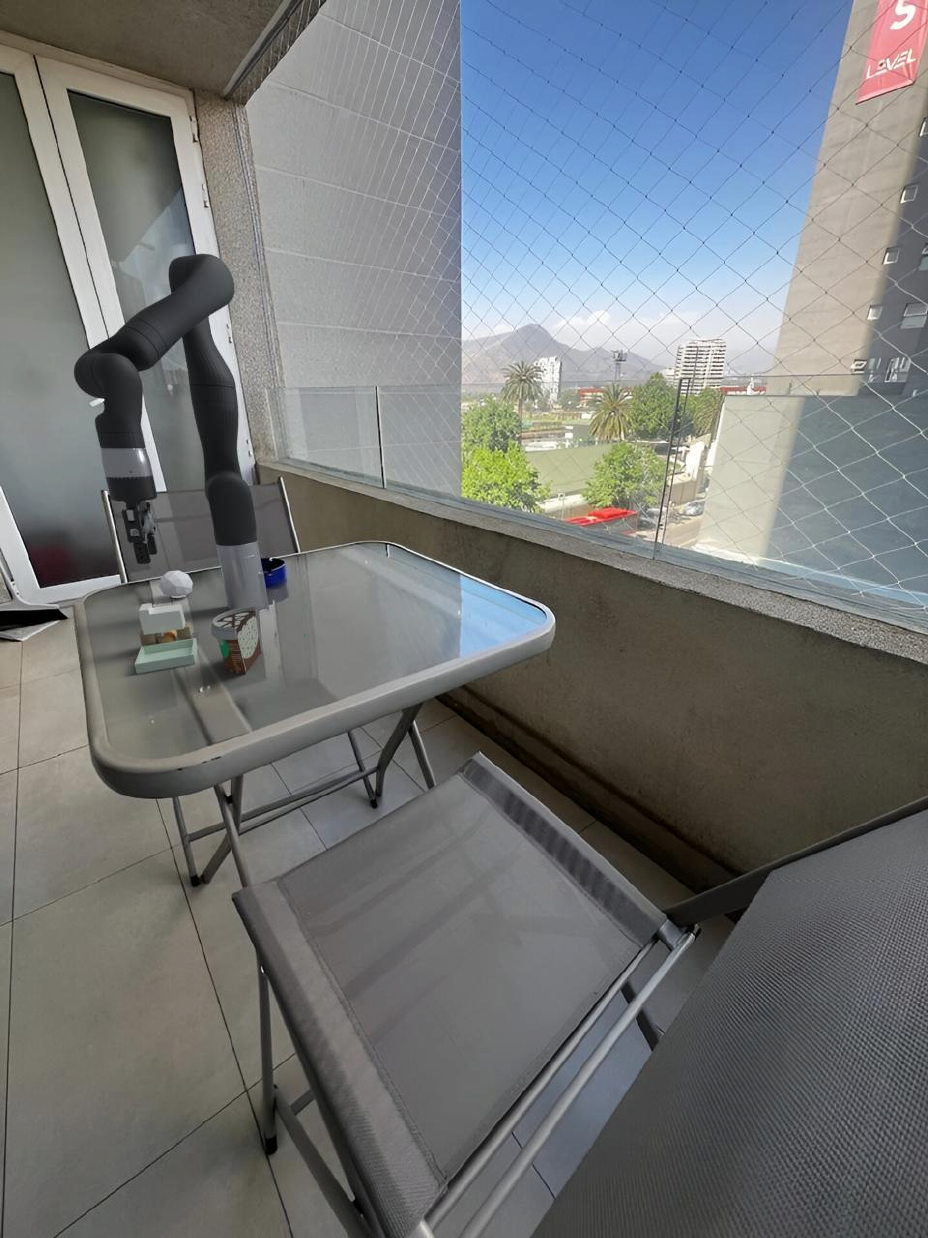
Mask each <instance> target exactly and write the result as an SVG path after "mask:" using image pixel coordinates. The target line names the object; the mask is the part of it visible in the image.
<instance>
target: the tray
mask: <svg viewBox="0 0 928 1238" xmlns="http://www.w3.org/2000/svg"><path fill="white" fill-rule="evenodd" d="M197 648H198V649H199V645H198V646H197V641H196V638H194V639H188V640H181V641H175V642H169V643H163V644H156V645H150V646H144V647H143V646H141V647H140V650H139V652H138V655H137V657H136V660H135V662H134V668H135V671H136V675H140V674H139V673H142V674H146V673H145V672H147V673H152V672H151V671H153V672H157V671H156V670H159V671H163V670H162V669H164V670H168V669H167V668H170V669H174V668H173V667H176V668H180V667H179V666H181V667H185V666H184V665H187V666H191V665H190V664H193V665H196V663H197V657H196V656H198V649H197Z"/></svg>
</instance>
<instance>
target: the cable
mask: <svg viewBox="0 0 928 1238" xmlns="http://www.w3.org/2000/svg"><path fill="white" fill-rule="evenodd" d="M176 636H177V632H176V630H173V631H166V632H163V634H162V637H163V638H162V637H161V638H162V641H161V644H163V643H169V642H175V640H176Z"/></svg>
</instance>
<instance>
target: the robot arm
mask: <svg viewBox="0 0 928 1238" xmlns="http://www.w3.org/2000/svg"><path fill="white" fill-rule="evenodd" d="M168 284H169V288H170V292H171V293H170V294H168V295H167V296H165V297H163V298H161V299H159V300H157V301H156V302H153V303H152V304H150V305H148V306H146V307H144V308H143V309H141V310H140V311H138V312H137V313H136V314H135V315H133V316H132V317H131V318H129V320H127V321H126V322H125V323H124V324H123V325H122V326H121V327H120V328H119V329H118V330H117V332H116V333H114V334H113V335H112V336H110V337H108V338H107V339H104V340H103V341H101V342H100V343H98V344H96V345H94V346H93V347H92V348H90V349H88V350H87V351H85V352H84V353H83V354H82V355H81V356H79V357H78V358H77V361H76V362H75V364H74V366H73V367H74V368H73V377H74V380H75V382H76V384H77V386H78V387H79V388H80V390H82V391H83V392H84V393H85V394H87V395H88V396H90V397H93V398H96V399H101V400H103V407H104V408H103V411H102V413H100V414H97V416H95V419H94V425H95V427H94V428H95V430H96V434H97V439H98V443H99V447H100V453H101V463H102V467H103V471H104V476H105V479H106V484H107V488H108V492H109V493H108V494H109V496H110V497H109V498H110V499H111V500H112V501H114V502H124V503H125V509H121V515H122V519H123V524H124V529H125V533H126V537H127V538H126V540H127V542H128V543H129V544H131V545H132V546H133V547H132V548H133V551H134V556H135V560H136V563H137V564H138V565H146V564H150V563H151V561H152V559H151V556H153V555H154V556H155V555H157V554H158V548H157V544H156V539H155V534H156V530H157V528H156V526H155V525H156V524H155V521H154V520H155V519H154V516H153V511H152V504H151V502H150V501H152V500H155V499H157V498H158V491H157V487H156V483H155V477H154V473H153V469H152V463H151V460H150V457H149V456H150V455H148V451H147V446H146V442H145V437H144V434H143V433H144V432H143V428H142V419H143V418H142V417H143V403H144V402H143V400H144V399H143V397H144V396H143V395H144V391H143V390H144V389H143V382H142V378H141V376H140V373H141V372H145V371H147V370H149V369H151V368H153V367H154V366H155V365H157V363H158V362H159V361H160V360H162V358H163V357H164V356H165V355H166V354H167V353H168V352H169V350H171V349H172V347H174V346H175V345H176V344H177V342H179V341H180V340H182V345H183V351H184V358H185V362H186V368H187V376H188V377H187V378H188V385H189V392H190V398H191V404H192V409H193V414H194V420H195V424H196V428H197V433H198V435H199V440H200V444H201V447H202V453H203V454H202V455H203V457H202V458H203V469H204V470H203V471H204V474H203V475H204V495H205V498H206V500H207V501H208V505H209V511H210V515H211V520H212V526H213V536H214V542H215V546H216V547H215V548H216V550H217V551H216V552H217V556H218V561H219V566H220V571H221V575H222V581H223V586H224V590H225V595H226V601H227V607H228V611H231V610H235V609H239V608H245V607H256V609H257V612H258V611H259V612H260V611H262V610H264V609H266V610H270V606H269V605H270V604H269V599H268V594H267V588H266V582H265V575H264V571H263V566H262V560H261V555H260V547H259V542H258V536H257V535H258V534H257V531H258V530H257V529H258V527H257V521H256V515H255V514H256V513H255V506H254V502H253V501H254V499H253V494H252V491H251V488H250V486H249V484H248V483H247V482H246V481H245V480H244V478H243V475H242V472H241V467H240V461H239V455H238V438H239V437H238V436H239V418H240V417H239V404H238V402H239V401H238V394H237V386H236V381H235V377H234V375H233V373H232V371H231V369H230V367H229V365H228V364H227V362H226V360H225V359H224V357H223V356H222V354H221V352H220V350H219V349H218V347H217V345H216V342H215V341H214V338H213V334H212V330H211V329H212V328H211V324H210V318H209V317H210V316H211V315H213V314H214V313H217V311H220V310H221V309H223V308H224V307H226V306H227V305H229V304H230V303H231V302H232V300H233V298H234V295H235V280H234V278H233V275H232V273H231V270H230V268H229V267H228V266H227V264H226V263H225V262H224V261H223V260H222V259H221V258H219V257H218V256H216V255H214V254H212V253H211V254H209V253H196V254H190V255H183V256H178V257H175V258H174V259H173V260H171V262H170V263H169V267H168ZM139 372H140V373H139Z"/></svg>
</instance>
